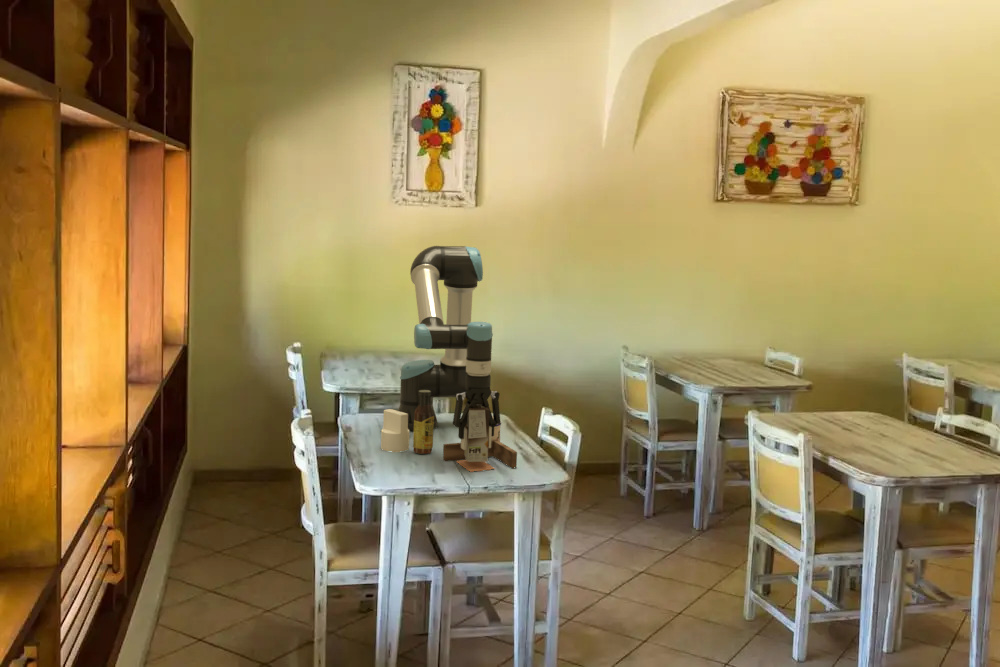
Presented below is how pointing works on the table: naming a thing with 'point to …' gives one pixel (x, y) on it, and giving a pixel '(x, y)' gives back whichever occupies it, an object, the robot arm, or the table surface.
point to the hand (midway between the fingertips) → (475, 447)
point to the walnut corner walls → (496, 450)
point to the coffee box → (477, 434)
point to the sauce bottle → (423, 424)
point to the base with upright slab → (395, 431)
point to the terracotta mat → (475, 465)
